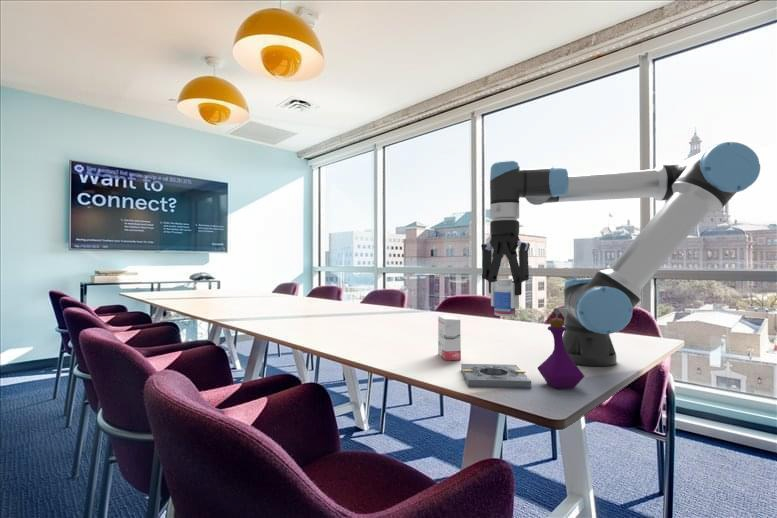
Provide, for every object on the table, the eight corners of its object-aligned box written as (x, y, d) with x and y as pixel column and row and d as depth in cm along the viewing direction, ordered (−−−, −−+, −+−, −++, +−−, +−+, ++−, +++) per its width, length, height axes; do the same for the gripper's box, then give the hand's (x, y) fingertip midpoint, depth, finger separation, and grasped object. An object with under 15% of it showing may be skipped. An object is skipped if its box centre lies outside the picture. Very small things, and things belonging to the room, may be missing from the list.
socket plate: (517, 370, 105) (517, 363, 105) (533, 388, 91) (533, 379, 91) (459, 369, 106) (459, 362, 106) (466, 386, 92) (466, 378, 92)
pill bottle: (516, 317, 106) (516, 279, 106) (494, 316, 107) (494, 279, 107) (514, 314, 112) (514, 278, 112) (493, 313, 113) (493, 278, 113)
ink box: (461, 360, 116) (461, 319, 116) (444, 360, 116) (444, 319, 116) (453, 353, 125) (453, 314, 125) (437, 353, 125) (437, 315, 124)
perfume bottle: (536, 381, 96) (536, 305, 96) (567, 380, 97) (567, 305, 97) (552, 391, 89) (552, 309, 89) (585, 390, 90) (585, 309, 90)
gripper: (468, 221, 114) (468, 304, 114) (528, 216, 100) (528, 311, 100) (484, 223, 119) (484, 302, 119) (544, 218, 105) (544, 308, 105)
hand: (504, 306), depth 109 cm, fingers closed on pill bottle, 5 cm apart
